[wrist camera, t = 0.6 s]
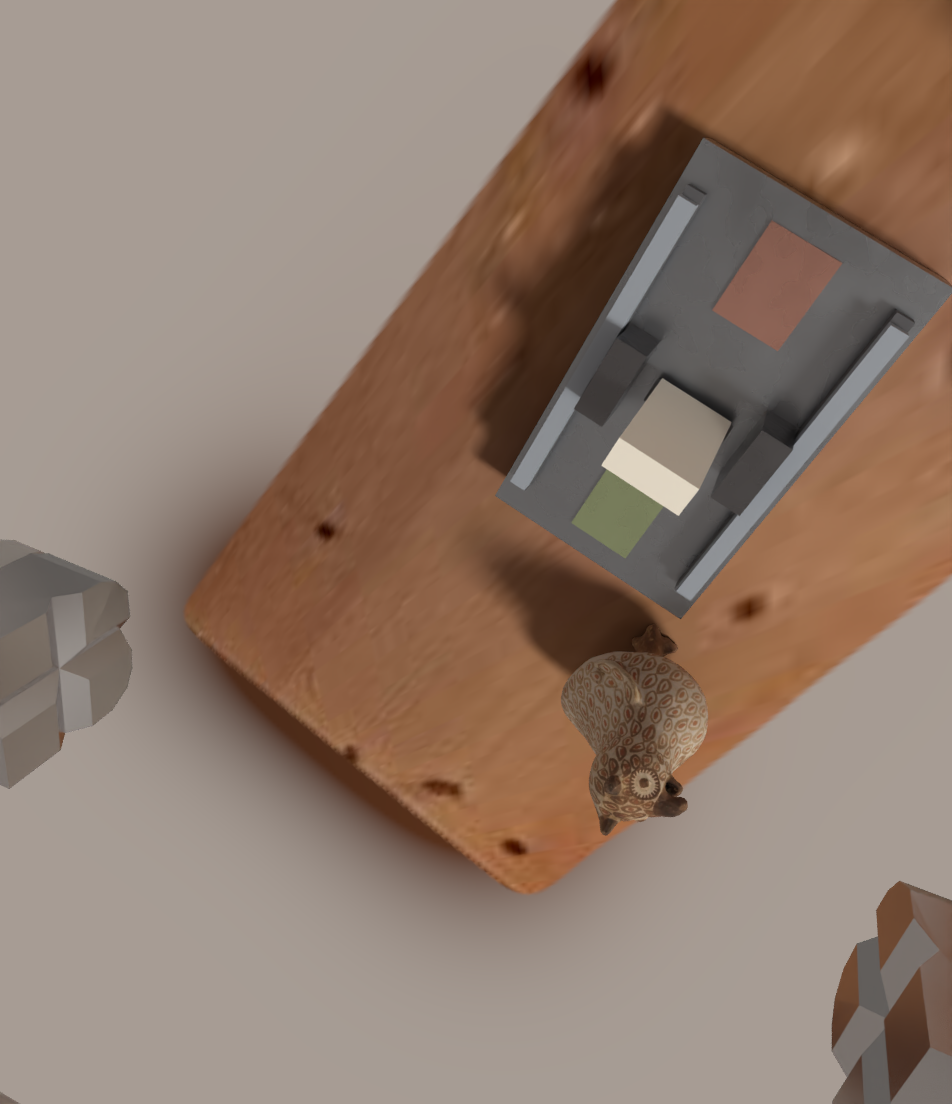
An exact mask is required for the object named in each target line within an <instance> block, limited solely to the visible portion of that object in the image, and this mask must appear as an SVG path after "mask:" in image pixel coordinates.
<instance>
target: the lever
mask: <svg viewBox="0 0 952 1104" xmlns="http://www.w3.org/2000/svg"><path fill="white" fill-rule="evenodd" d="M644 401H645V403H644V404H643V406H642V407H641V408H640V410H639V411H638V413H637V414H636V415H635V417H634V418H633V419H632V421H631V422H630V424H629V425H628V426H627V428H626V429H625V431H624V432H623V433H622V435H621V436H620V437H619V439H618V440H617V442H616V444H615V445H614V447H613V448H612V450H611V451H610V453H609V454H608V456H607V457H606V459H605V460H604V462H603V463H602V465H601V466H603V467H604V468H606V469H607V470H609V471H610V472H612V473H613V474H615V475H616V476H618V477H620V478H621V479H623V480H624V481H626V482H627V483H629V484H630V485H632V486H633V487H635V488H636V489H638V490H639V491H641V492H643V493H644V494H646V495H647V496H649V497H650V498H652V499H653V500H655V501H656V502H658V503H659V504H661V505H662V506H664V507H666V508H667V509H669V510H670V511H672V512H673V513H675V514H676V515H678V516H679V515H680V513H681V512H682V511H683V510H684V508H685V507H686V506H687V504H688V503H689V502H690V501H691V499H692V498H693V497H694V495H695V494H696V493H697V492H698V490H699V489H700V487H701V485H702V483H703V481H704V479H705V476H706V474H707V472H708V470H709V468H710V466H711V464H712V462H713V460H714V458H715V456H716V454H717V452H718V450H719V448H720V446H721V444H722V443H723V441H724V440H725V438H726V437H727V436H728V434H729V433H730V431H731V429H732V428H733V426H732V425H731V423H732V422H731V421H729V420H727V419H726V418H724V417H723V416H721V415H720V414H718V413H716V412H715V411H713V410H712V409H710V408H709V407H707V406H705V405H704V404H702V403H701V402H699V401H698V400H696V399H694V398H693V397H691V396H690V395H688V394H687V393H685V392H683V391H682V390H680V389H679V388H677V387H676V386H674V385H672V384H671V383H669V382H668V381H666V380H665V379H663V378H662V379H661V380H660V379H659V378H658V379H657V380H656V382H655V383H654V385H653V386H652V388H651V389H650V391H649V392H648V394H647V395H646V397H645V398H644Z"/></svg>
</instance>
